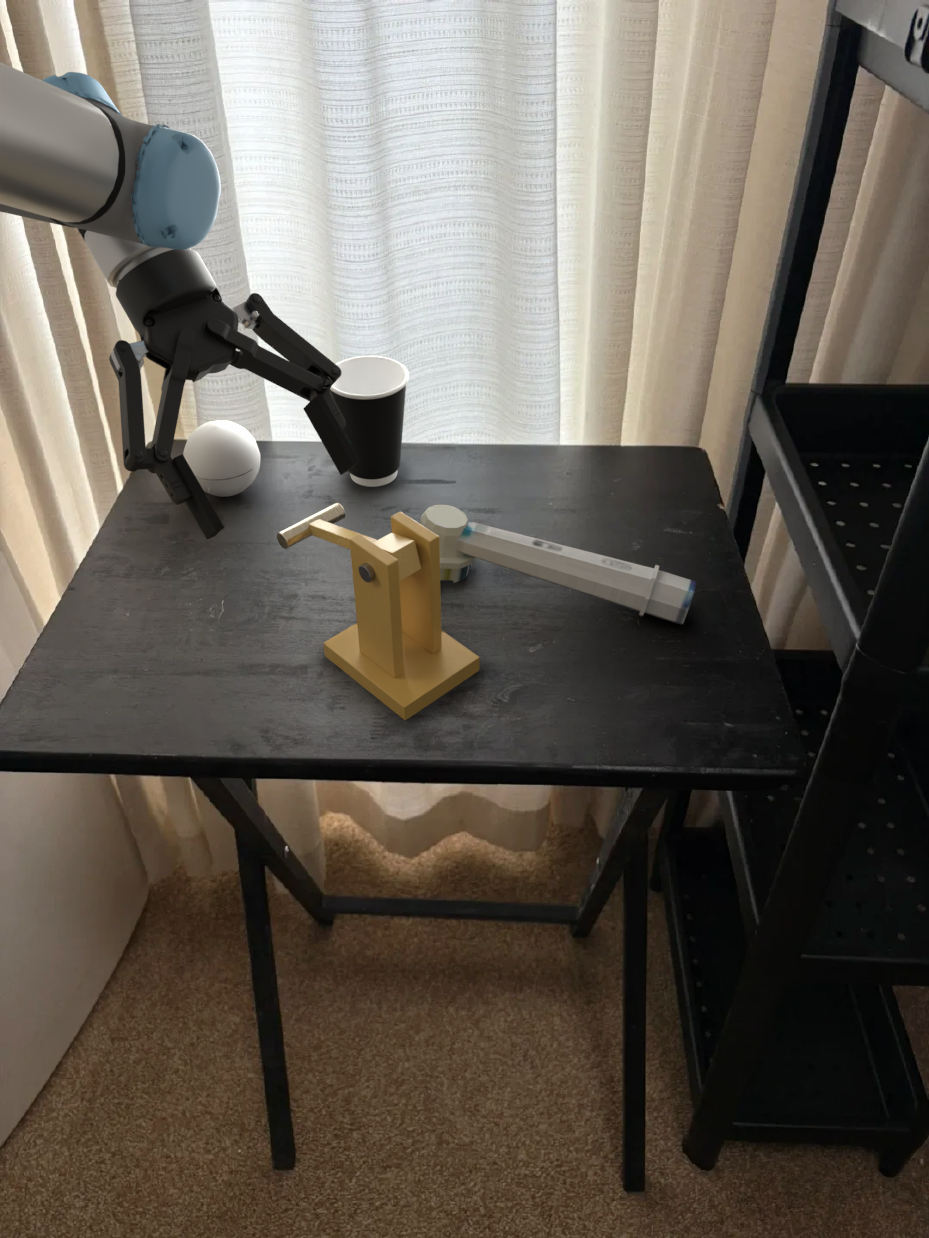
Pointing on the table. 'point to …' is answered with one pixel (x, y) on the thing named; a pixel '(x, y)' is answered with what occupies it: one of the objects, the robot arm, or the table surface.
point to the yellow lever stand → (400, 626)
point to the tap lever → (326, 530)
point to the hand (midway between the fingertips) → (285, 500)
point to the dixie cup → (372, 415)
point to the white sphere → (222, 457)
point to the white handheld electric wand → (557, 565)
